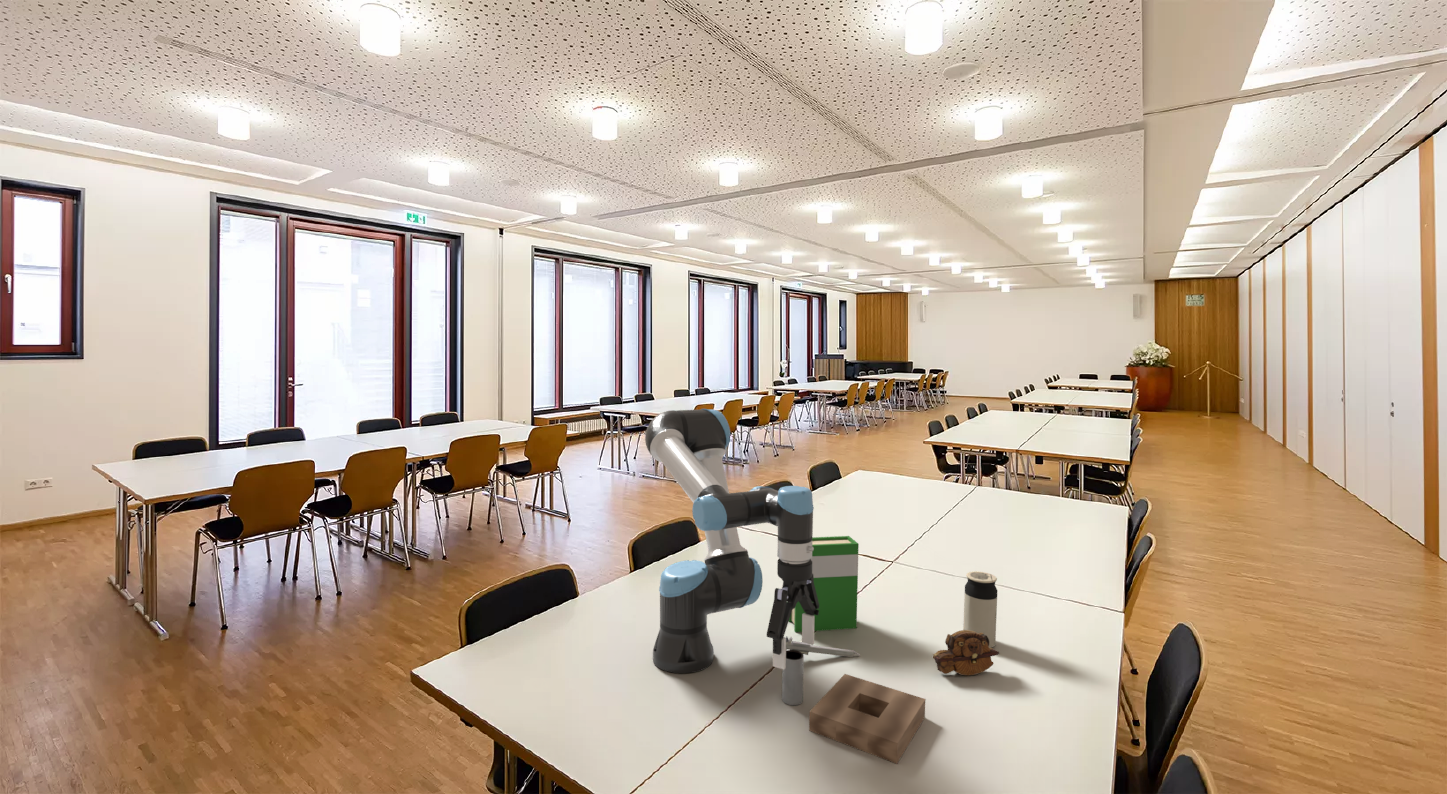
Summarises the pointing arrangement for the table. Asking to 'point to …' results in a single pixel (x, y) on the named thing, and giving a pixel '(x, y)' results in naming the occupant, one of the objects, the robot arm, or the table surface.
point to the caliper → (818, 649)
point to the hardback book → (833, 584)
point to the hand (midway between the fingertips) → (794, 654)
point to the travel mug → (981, 604)
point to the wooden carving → (965, 653)
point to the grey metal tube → (793, 678)
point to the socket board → (868, 717)
